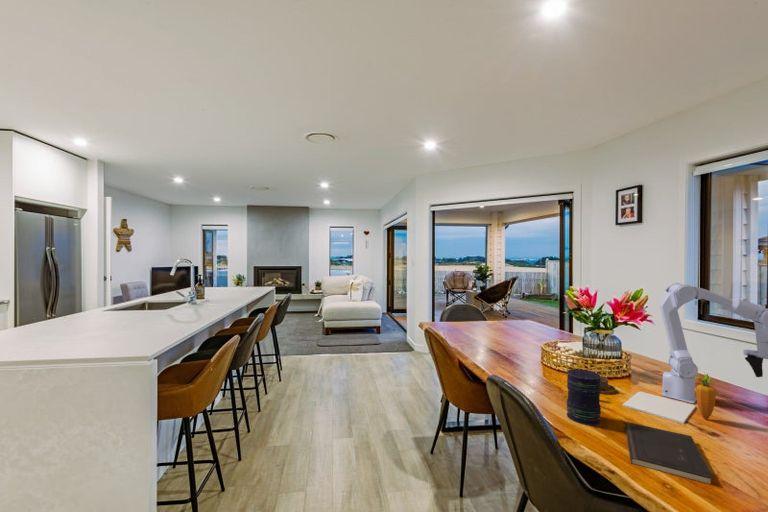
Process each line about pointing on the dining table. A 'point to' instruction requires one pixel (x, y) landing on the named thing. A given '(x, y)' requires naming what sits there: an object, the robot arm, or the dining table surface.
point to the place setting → (605, 384)
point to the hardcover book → (666, 452)
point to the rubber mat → (660, 407)
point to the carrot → (705, 397)
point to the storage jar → (583, 396)
